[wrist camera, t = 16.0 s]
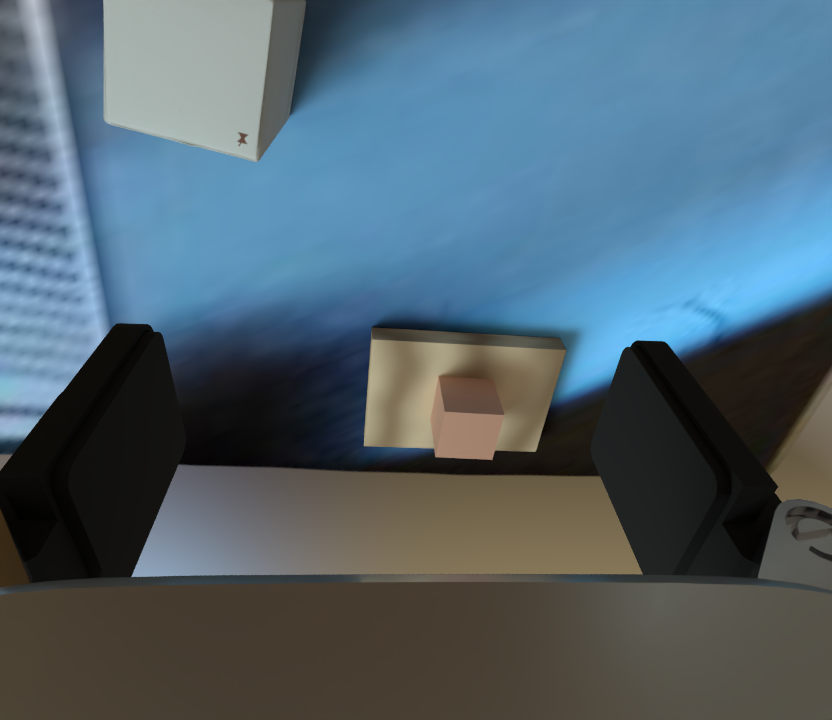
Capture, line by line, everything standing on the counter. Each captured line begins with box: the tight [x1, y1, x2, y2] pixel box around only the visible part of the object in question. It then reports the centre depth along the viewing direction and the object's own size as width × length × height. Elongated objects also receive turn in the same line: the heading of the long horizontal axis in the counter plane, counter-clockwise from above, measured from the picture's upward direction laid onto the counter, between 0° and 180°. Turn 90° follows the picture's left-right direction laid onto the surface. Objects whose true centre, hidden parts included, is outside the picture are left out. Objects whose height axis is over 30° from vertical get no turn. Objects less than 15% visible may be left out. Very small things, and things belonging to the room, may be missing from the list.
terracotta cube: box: [430, 376, 504, 460], centre depth 48 cm, size 5×5×5 cm
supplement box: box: [103, 0, 306, 162], centre depth 30 cm, size 7×7×13 cm
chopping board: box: [364, 327, 566, 452], centre depth 51 cm, size 17×12×2 cm
